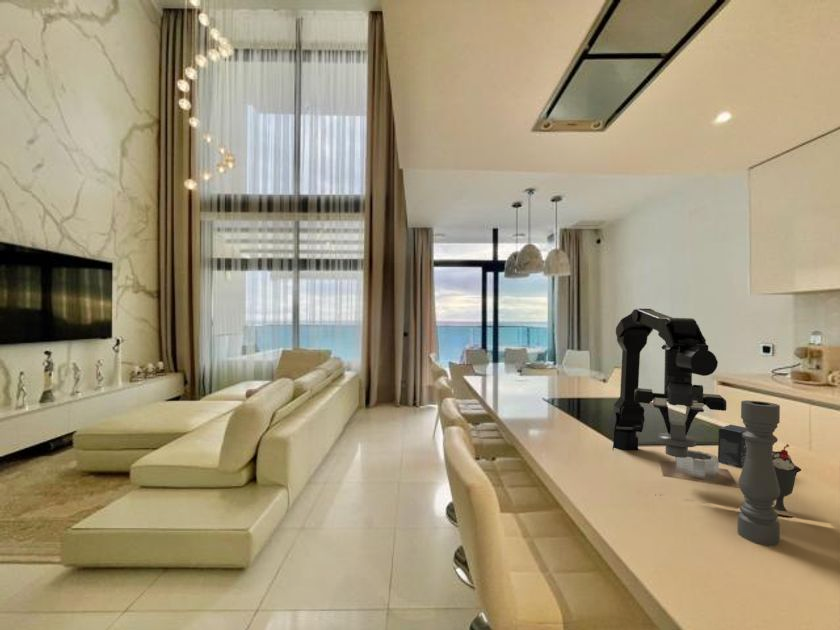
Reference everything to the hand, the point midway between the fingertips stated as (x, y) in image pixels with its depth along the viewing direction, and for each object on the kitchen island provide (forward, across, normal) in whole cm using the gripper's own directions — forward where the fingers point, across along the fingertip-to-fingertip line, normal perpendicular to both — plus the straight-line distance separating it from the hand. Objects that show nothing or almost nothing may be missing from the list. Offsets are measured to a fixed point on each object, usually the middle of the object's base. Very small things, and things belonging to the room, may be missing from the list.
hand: (676, 434), depth 104 cm
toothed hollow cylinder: (+12, +6, +12) cm, 18 cm away
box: (+13, +16, +27) cm, 34 cm away
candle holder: (+13, +12, -20) cm, 27 cm away
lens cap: (+5, 0, 0) cm, 5 cm away
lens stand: (+13, +6, +12) cm, 18 cm away
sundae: (+13, +19, -5) cm, 23 cm away
